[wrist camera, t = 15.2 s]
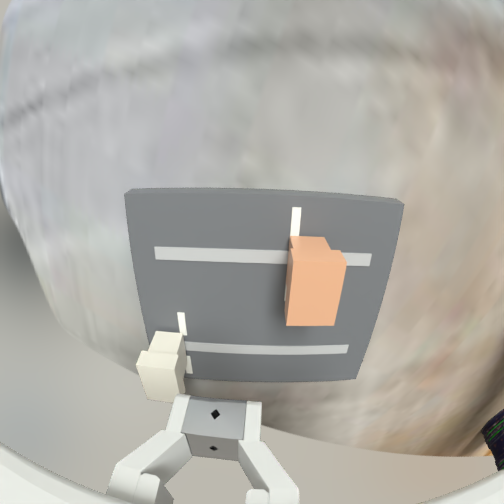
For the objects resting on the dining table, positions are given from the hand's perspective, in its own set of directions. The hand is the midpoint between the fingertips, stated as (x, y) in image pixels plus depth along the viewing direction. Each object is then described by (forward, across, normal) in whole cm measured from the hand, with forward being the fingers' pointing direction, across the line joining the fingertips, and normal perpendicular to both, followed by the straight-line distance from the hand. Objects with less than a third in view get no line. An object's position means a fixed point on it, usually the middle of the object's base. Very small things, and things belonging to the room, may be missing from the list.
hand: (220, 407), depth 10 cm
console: (+14, -1, +5) cm, 15 cm away
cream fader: (+12, +6, +9) cm, 17 cm away
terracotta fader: (+13, -4, 0) cm, 13 cm away
